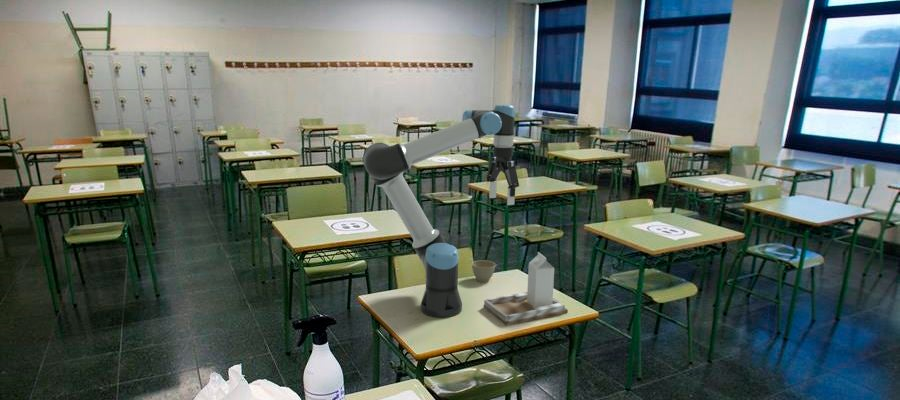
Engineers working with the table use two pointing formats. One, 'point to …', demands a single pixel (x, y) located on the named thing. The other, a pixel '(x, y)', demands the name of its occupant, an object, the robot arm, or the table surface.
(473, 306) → the table surface
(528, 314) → the divided compartment tray
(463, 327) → the table surface
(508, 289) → the table surface
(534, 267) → the milk carton
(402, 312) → the table surface
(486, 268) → the flower pot
